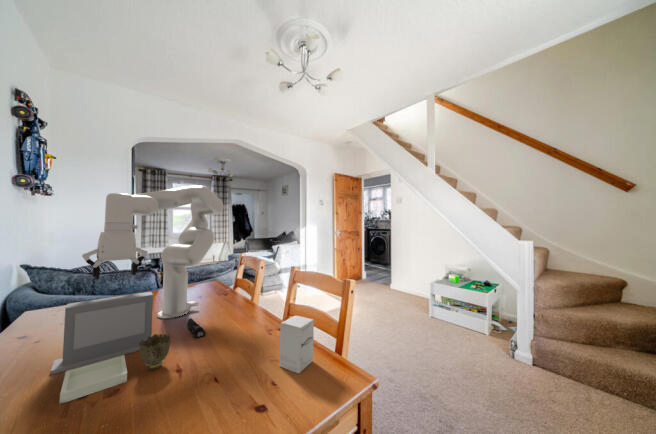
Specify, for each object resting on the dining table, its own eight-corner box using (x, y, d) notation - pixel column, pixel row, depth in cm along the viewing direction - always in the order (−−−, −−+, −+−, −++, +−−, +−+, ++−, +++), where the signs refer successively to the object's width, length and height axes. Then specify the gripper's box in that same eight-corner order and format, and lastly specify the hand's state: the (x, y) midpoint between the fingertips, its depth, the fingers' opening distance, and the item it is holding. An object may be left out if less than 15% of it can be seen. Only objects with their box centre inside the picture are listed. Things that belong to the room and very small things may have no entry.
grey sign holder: (155, 337, 85) (157, 290, 86) (158, 344, 80) (160, 294, 81) (54, 363, 69) (57, 304, 69) (50, 374, 64) (54, 310, 64)
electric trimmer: (195, 324, 98) (195, 316, 99) (206, 336, 87) (206, 328, 87) (184, 326, 96) (185, 318, 96) (194, 340, 84) (194, 331, 85)
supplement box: (299, 374, 65) (300, 327, 66) (278, 366, 69) (279, 322, 69) (313, 361, 71) (314, 319, 72) (294, 354, 75) (295, 314, 76)
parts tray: (124, 362, 70) (124, 354, 70) (126, 381, 61) (127, 372, 61) (65, 379, 62) (66, 371, 62) (59, 404, 53) (60, 394, 53)
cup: (153, 377, 63) (154, 346, 64) (130, 373, 65) (132, 343, 65) (176, 361, 71) (177, 334, 71) (155, 358, 72) (156, 331, 72)
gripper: (145, 228, 93) (143, 272, 92) (82, 227, 80) (79, 279, 79) (151, 228, 89) (148, 274, 88) (85, 227, 75) (81, 282, 74)
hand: (115, 276), depth 83 cm, fingers open, 9 cm apart
